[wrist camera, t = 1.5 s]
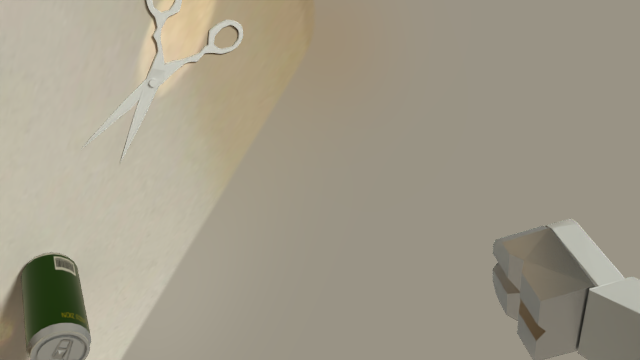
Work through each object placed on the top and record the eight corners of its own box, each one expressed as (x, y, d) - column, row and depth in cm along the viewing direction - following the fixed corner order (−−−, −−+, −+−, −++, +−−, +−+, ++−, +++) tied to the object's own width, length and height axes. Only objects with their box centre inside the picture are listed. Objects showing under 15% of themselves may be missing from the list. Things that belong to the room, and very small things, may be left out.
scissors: (257, 17, 57) (148, 179, 60) (254, 15, 57) (146, 175, 61) (164, -49, 50) (47, 137, 54) (162, -51, 51) (47, 133, 54)
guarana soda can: (32, 245, 59) (40, 327, 50) (85, 255, 62) (102, 333, 53) (12, 286, 60) (17, 373, 51) (65, 294, 63) (78, 377, 54)
